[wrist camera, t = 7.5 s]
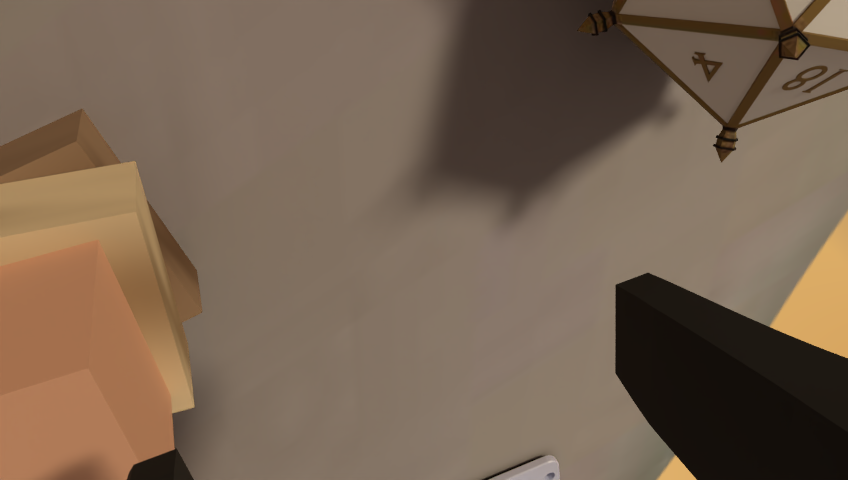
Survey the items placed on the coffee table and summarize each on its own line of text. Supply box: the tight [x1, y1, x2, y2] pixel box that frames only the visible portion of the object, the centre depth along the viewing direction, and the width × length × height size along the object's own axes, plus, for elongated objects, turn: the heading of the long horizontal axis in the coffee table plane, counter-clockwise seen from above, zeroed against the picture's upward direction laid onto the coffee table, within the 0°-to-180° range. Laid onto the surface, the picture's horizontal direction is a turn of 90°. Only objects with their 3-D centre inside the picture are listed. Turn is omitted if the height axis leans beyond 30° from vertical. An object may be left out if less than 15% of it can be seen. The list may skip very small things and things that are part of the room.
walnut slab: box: [0, 109, 202, 322], centre depth 18 cm, size 6×6×2 cm
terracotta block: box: [0, 240, 174, 480], centre depth 13 cm, size 4×4×4 cm
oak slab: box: [0, 161, 195, 413], centre depth 16 cm, size 6×6×2 cm
